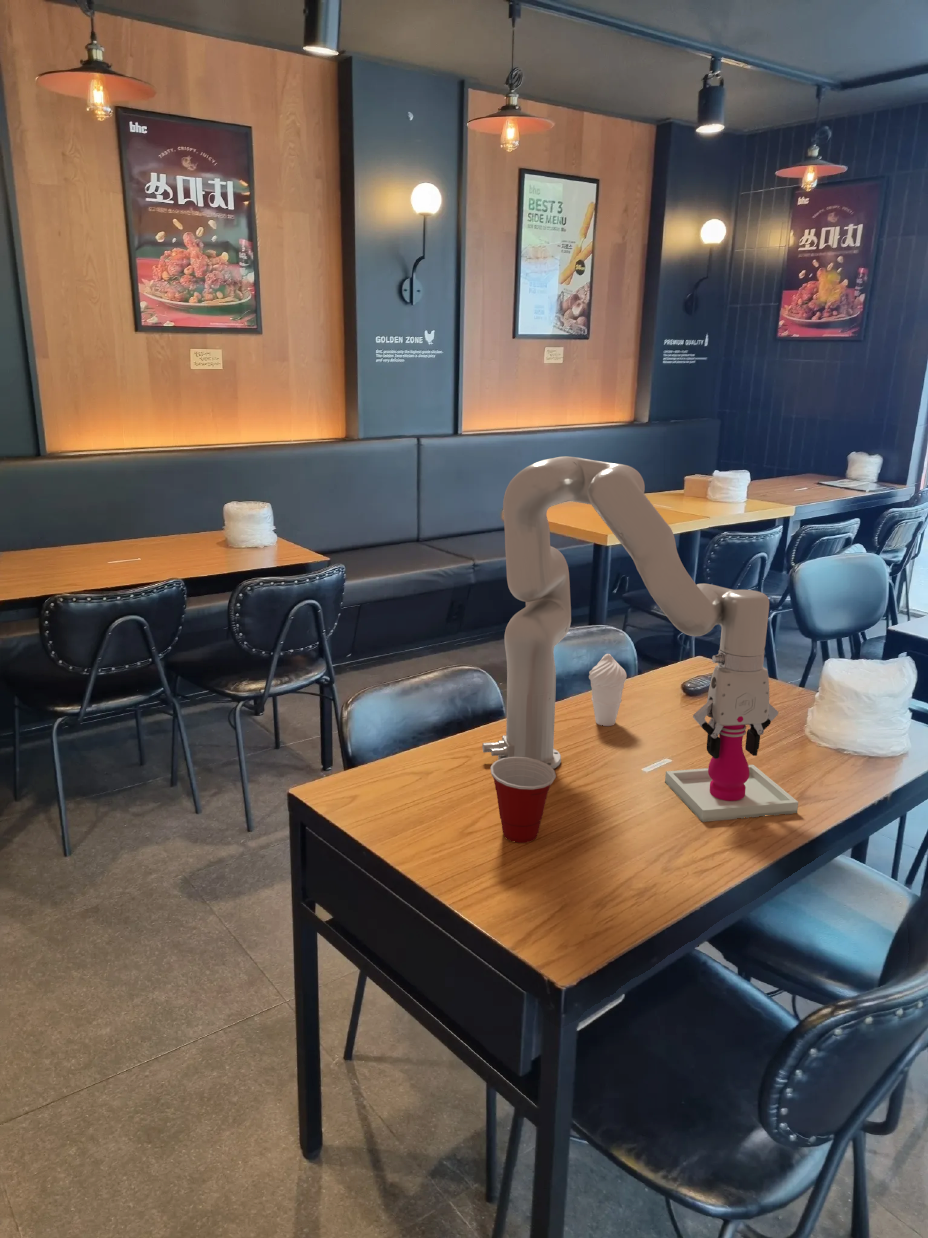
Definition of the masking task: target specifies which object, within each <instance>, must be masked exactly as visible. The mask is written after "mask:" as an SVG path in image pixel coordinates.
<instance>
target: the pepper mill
mask: <svg viewBox="0 0 928 1238" xmlns="http://www.w3.org/2000/svg"><path fill="white" fill-rule="evenodd" d="M737 721H738V722H742V721H743V717H742V716H739V717H738V719H737ZM746 729H747V725H736V726H723V728H722V730H721V731H720V733H719V735H718V737H719V738H720V739H721V742H720V753H719V758H718V759H715V758H713V757H712V756H711V758H710V761H709V764H708V774H709V776H710V778H711V779H712V781H711V782H710V793H711V795H712V796H714V797H716V798H718V799H721V800H725V801H737V800H741V799H742V798H744V796H745V789H746V787H745V785H744V783H745V782H746V781H747V780H748V778H749V766H748V765H749V763H748V761H747V758H746V756H745V753H744V750H743V738H744V735H747V730H746Z"/></svg>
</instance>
